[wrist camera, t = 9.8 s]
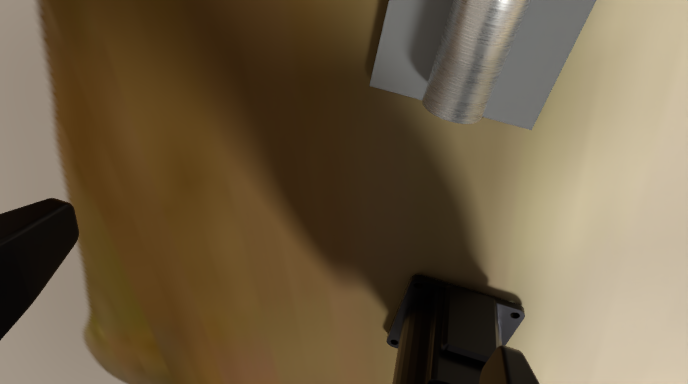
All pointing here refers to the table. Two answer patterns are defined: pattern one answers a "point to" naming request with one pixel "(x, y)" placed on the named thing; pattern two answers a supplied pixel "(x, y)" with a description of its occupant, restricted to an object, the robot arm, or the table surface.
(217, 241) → the table surface
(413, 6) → the mat
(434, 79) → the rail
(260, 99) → the table surface
